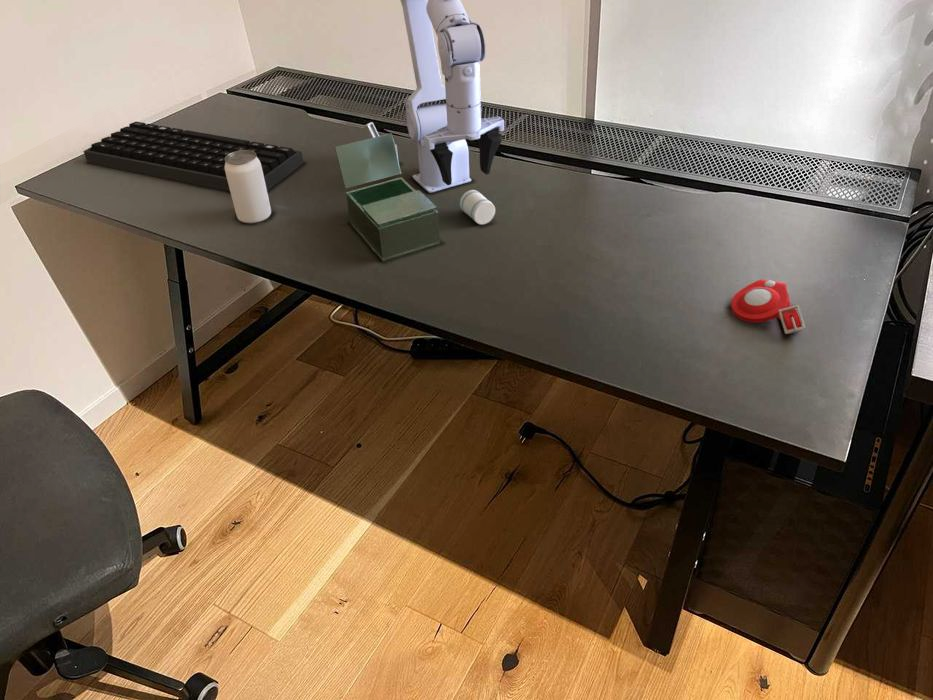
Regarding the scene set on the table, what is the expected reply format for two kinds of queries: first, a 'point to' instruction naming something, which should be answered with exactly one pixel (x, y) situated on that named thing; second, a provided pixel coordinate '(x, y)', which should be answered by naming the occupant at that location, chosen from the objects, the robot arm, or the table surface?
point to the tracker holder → (767, 305)
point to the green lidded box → (393, 218)
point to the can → (247, 186)
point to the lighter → (374, 132)
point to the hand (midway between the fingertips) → (466, 177)
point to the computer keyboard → (186, 155)
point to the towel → (477, 207)
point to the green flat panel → (368, 160)
